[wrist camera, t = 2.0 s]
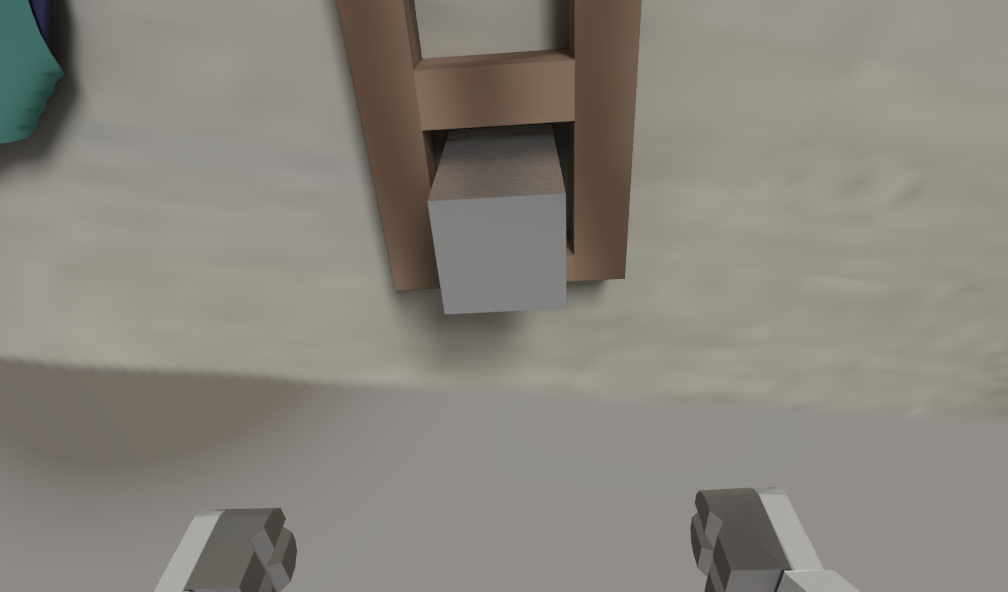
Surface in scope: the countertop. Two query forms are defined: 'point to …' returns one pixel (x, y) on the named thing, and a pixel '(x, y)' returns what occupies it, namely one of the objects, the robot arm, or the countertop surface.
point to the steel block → (500, 221)
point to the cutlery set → (25, 66)
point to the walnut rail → (498, 122)
